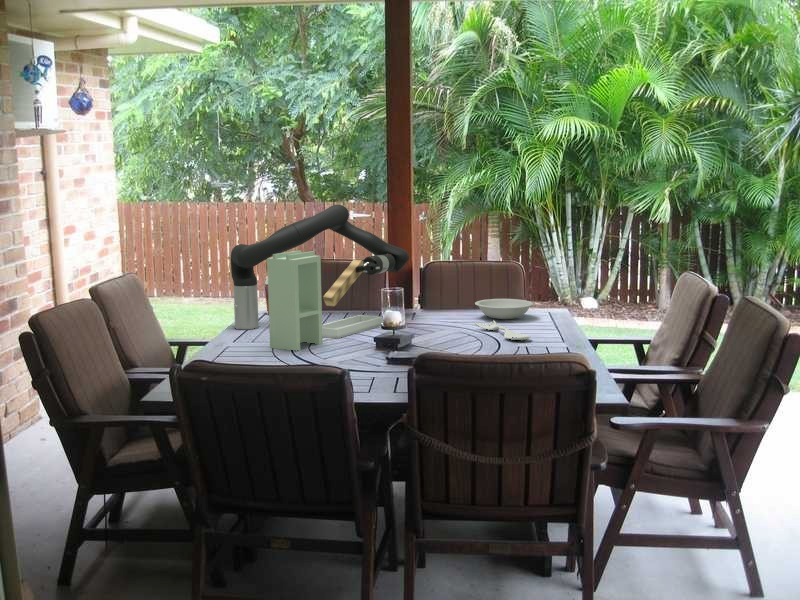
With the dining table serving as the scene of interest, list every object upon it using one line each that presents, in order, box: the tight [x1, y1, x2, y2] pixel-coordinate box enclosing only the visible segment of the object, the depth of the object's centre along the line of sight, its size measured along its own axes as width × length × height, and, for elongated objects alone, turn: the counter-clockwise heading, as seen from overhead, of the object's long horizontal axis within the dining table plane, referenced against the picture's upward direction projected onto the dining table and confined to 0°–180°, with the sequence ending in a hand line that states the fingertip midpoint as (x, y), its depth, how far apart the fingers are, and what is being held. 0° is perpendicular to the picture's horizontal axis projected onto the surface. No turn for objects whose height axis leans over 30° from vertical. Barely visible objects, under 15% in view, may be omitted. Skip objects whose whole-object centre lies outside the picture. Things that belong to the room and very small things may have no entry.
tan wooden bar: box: [322, 259, 364, 307], centre depth 347 cm, size 24×4×4 cm, turn 148°
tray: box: [322, 314, 383, 340], centre depth 352 cm, size 31×11×4 cm, turn 148°
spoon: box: [474, 319, 531, 341], centre depth 340 cm, size 9×32×4 cm, turn 22°
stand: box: [266, 250, 323, 352], centre depth 322 cm, size 15×12×34 cm
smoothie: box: [264, 277, 269, 315], centre depth 391 cm, size 8×8×20 cm
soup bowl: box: [474, 298, 534, 320], centre depth 375 cm, size 24×24×7 cm
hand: (351, 269), depth 350 cm, fingers closed on tan wooden bar, 4 cm apart
